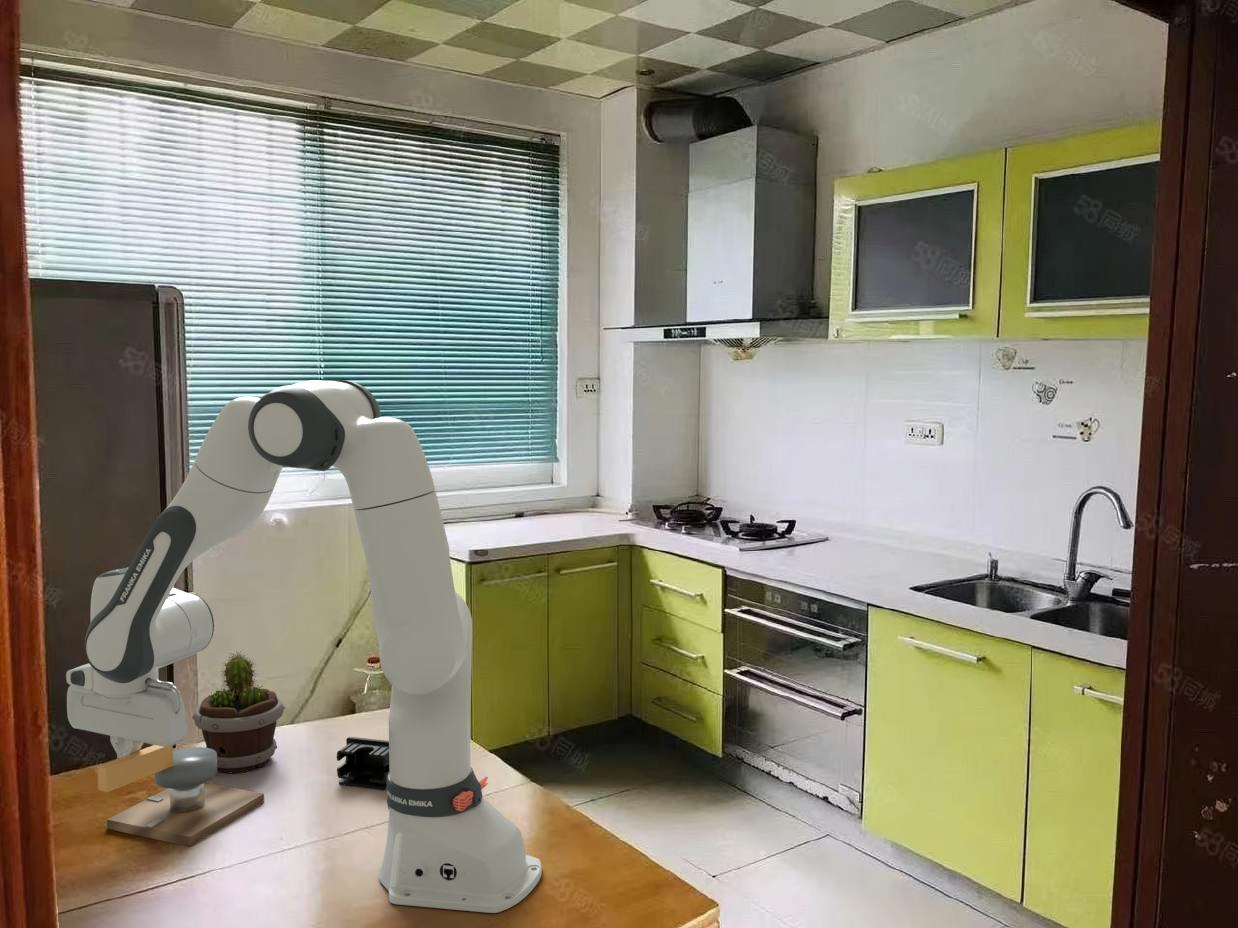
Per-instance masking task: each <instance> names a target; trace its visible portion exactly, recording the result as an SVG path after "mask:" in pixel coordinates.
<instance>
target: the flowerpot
mask: <svg viewBox="0 0 1238 928" xmlns="http://www.w3.org/2000/svg"><path fill="white" fill-rule="evenodd" d="M243 650H244V649H243ZM243 650H242V651H243ZM247 655H248V654H245V653H242V654H241V652H238V651H237V653H236V654H235V653H233V652H230V654H229V656H228V661H227V662H223V667H224V669H223V668H221V669H222V671H221V670H220V672H221V673H222V674H221V676H222V680H221V683H223V685H222V684H221V685H218V687H219V688H220V690H219V689H218V688H216V690H215V692H213V690H211V691H210V694H209V695H208V696H207V697H205V698H204V699H203V700H202V701H201V703H200V705H199V706H198V707H196V709H195V711H194V714H193V715H192V717H191V718H192V719H193V721H194V725H195V727H197V728H198V729H200V730H201V733H202V736H203V740H204V743H205V746H206V747H205V748H210V749H213V750H215V751H216V752H217V771H218V772H219V773H223V774H236V773H237V774H238V773H239V772H243V773H245V772H249V771H251V770H252V769H254V768H255V767H259V768H261V767H263V766H265V765H266V764H268V763H269V761H270V760H271V758H272V757H273V756H274V754H275V751H276V750H277V748H278V746H277V741H276V739H275V738H274V736H275V733H276V727H277V722H278V720H280V718H281V717H282V716H283V714H284V710H285V709H286V706H284V704H283V701H282V699H280V698H279V697H278V696H277V693H276V692H275V691H273V690H270V689H267V688H263V685H261V686H260V685H259V684H257V683H255V682H256V678H257V677H256V676H257V675H259V674H257V673H256V666H255V663H254V660H252V659H250V658H249V657H247V658H246V656H247ZM253 667H254V668H253ZM222 686H224V687H227V688H222ZM218 772H217V773H218Z"/></svg>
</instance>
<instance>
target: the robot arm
mask: <svg viewBox="0 0 1238 928" xmlns="http://www.w3.org/2000/svg"><path fill="white" fill-rule="evenodd" d="M380 409H381V408H380V405H379V403H378V401H377V399H376V398H375V396H374V395H373V394H372V392H370V391H369V389H367V388H366V387H364V386H363V385H361V384H359V383H356V382H354V381H350V380H345V379H335V380H334V379H333V380H316V379H313V380H307V381H302V382H298V383H295V384H291V385H290V384H289V385H282V386H279V387H276V388H275V389H273V390H271V391H269V392H266V394H264V395H263V396H262V397H260V398H259V397H254V396H241V397H237V398H234V399H232V400H230V401H229V402H227V403H226V404H225V405H224V406H223V407H222V408H221V410H220V412H219V413H218V415H217V416H216V418H215V420H214V421H213V422H212V424H211V426H210V428H209V429H208V431H207V433H206V435H205V437H204V439H203V441H202V443H201V445H200V447H199V448H198V449H199V450H198V452H197V453H196V456H195V459H194V461H193V464H192V465H191V467H190V470H189V472H188V474H187V476H186V478H185V479H184V482H182V485H180V488H179V489H178V491H177V493H176V494H175V496H173V497H174V498H173V499H172V500H171V501H170V503H169V504H168V505H167V507H166V508H165V509H163V511H162V512H161V513H160V514H159V516H158V517H157V519H156V520H155V521H154V523H153V524H152V525H151V526H150V528H149V529H148V532H146V533H147V534H146V535H145V536H144V539H143V540H142V542H141V544H140V546H139V547H138V549H137V551H136V553H135V555H134V556H133V558H132V560H131V563H130V564H129V565H128V566H127V567H123V568H118V569H113V570H110V571H105V572H103V573H101V574H100V575H98V576H97V577H96V579H94V582H93V586H92V591H91V596H90V597H91V598H90V623H89V625H88V628H87V630H86V633H85V638H84V653H85V658H86V660H87V662H88V663H86V664H82V665H80V666H77V667H74V668H72V669H69V670H68V671H67V670H66V674H65V678H66V679H65V680H66V683H67V684H68V685H70V686H68V688H67V690H66V691H67V692H66V713H67V720H68V722H69V724H70V725H71V727H72V728H73V729H78V730H82V731H87V732H93V733H96V734H101V735H106V736H109V737H110V743H111V745H112V748H113V749H114V752H115V753H116V756H117V758H116V759H118V758H121V757H123V756H126V755H129V754H132V753H134V752H137V751H139V750H142V747H143V745H144V744H149V745H152V746H153V745H158V746H162V747H170V746H172V745H173V746H174V745H177V744H179V743H181V742H183V741H184V739H186V737H187V735H188V726H187V715H186V710H185V709H186V708H185V704H184V700H183V698H182V697H183V696H182V693H181V691H180V690H179V689H178V688H177V687H176V686H175V684H174V683H173V682H170V681H163V680H160V679H159V669H161V668H164V667H167V666H168V665H171V664H174V663H176V662H178V661H181V660H183V659H186V658H188V657H191V656H194V655H196V654H198V653H199V652H202V651H204V650H205V649H206V648H207V647H208V646H209V644H210V643H211V641H212V639H213V635H214V631H215V620H214V615H213V612H212V609H211V608H210V605H209V604H208V602H207V601H205V600H204V598H202V597H201V596H199V595H198V594H196V593H193V592H190V591H189V592H187V591H184V590H181V589H178V588H176V587H174V586H175V584H176V582H177V581H178V579H179V577H180V576H181V574H182V573H183V572H184V571H185V569H186V568H187V567H188V566H189V565H190V564H191V563H192V562H194V561H195V560H197V558H198V557H200V556H201V555H203V554H205V553H206V552H208V551H209V550H211V549H213V548H215V547H216V546H219V545H221V544H222V543H224V542H226V541H229V540H230V539H232V538H234V537H236V536H238V535H240V534H242V533H244V532H246V531H247V530H248V529H250V528H251V527H252V526H253V525H254V524H255V523H256V521H257V520H258V519H259V517H260V516H261V515H262V513H263V512H264V510H265V508H266V507H267V505H268V503H269V502H270V498H271V497H272V494H273V492H274V489H275V487H276V484H277V481H278V479H279V477H280V474H281V472H282V470H283V468H284V467H287V468H292V469H293V468H294V469H304V470H313V471H318V472H320V471H321V472H326V471H328V470H329V469H330V468H331V467H333V468H334V469H336V470H338V471H339V472H340V474H342V476H343V478H345V479H344V480H345V481H346V485H347V486H348V487H347V488H348V490H349V494H350V499H351V502H352V507H353V512H354V515H355V520H356V523H357V528H358V532H359V537H360V541H361V543H362V548H363V552H364V557H365V561H366V564H367V565H366V567H367V572H368V580H369V587H370V588H369V589H370V595H371V596H370V597H371V604H372V612H373V613H372V614H373V620H374V626H375V632H376V638H377V642H378V643H377V644H378V649H379V659H380V660H379V661H380V665H381V667H380V668H381V670H382V673H383V674H384V676H385V678H386V679H387V681H388V682H389V683H390V684H391V694H390V704H389V705H390V706H389V715H388V741H389V770H390V772H389V773H388V775H387V787H386V790H385V791H386V803H387V808H388V823H387V835H386V843H385V847H384V848H385V849H384V854H383V859H382V862H381V866H380V869H379V873H378V878H379V881H380V883H381V884H382V885H383V886H384V888H385V889H386V890H387V891H388V900H389V903H391V904H394V905H398V906H399V905H402V906H403V905H404V906H411V907H412V906H413V907H422V908H433V909H434V908H435V909H446V910H456V911H468V912H477V913H488V914H489V913H491V914H497V913H501V912H502V911H505V910H508V909H510V908H512V907H513V906H515V905H517V904H518V903H520V902H521V901H523V899H525V898H526V897H527V896H528V895H529V894H530V893H531V892H532V891H533V890H534V888H535V887H536V886H537V885H538V883H539V881H540V880H541V877H542V874H543V868H542V862H541V860H540V859H539V858H538V857H534V856H531V855H529V854H527V853H526V848H525V842H524V837H523V835H522V832H521V829H520V828H519V827H518V826H517V825H516V824H515V823H514V822H513V821H511V820H510V819H509V818H508V817H507V816H506V815H504V814H503V813H502V812H500V811H499V809H497V808H496V807H495V806H494V805H492V803H490V802H489V801H488V800H487V799H486V798H485V797H484V794H483V792H482V790H483V789H484V788H485V787H486V786H487V785H488V783H489V782H487V781H488V779H489V777H488V776H485V777H484V778H482V779H481V780H480V781H479V780H478V779H477V775H476V774H475V771H474V769H473V768H472V766H471V701H472V700H471V698H472V695H471V694H472V667H473V666H472V665H473V663H472V659H473V657H472V656H473V619H472V613H471V611H470V609H469V607H468V605H467V602H466V601H465V600H464V598H462V596H461V595H460V594H458V592H456V588H455V584H454V577H453V570H452V564H451V555H450V547H449V546H450V545H449V542H448V537H447V534H446V529H445V526H444V525H445V524H444V521H443V516H442V512H441V508H440V504H439V499H438V494H437V492H436V487H435V483H434V479H433V476H432V473H431V469H430V467H429V464H428V461H427V458H426V456H425V452H424V450H423V448H422V445H421V443H420V441H419V438H418V437H417V434H416V432H415V430H414V429H413V428H412V426H411V424H409V423H407V422H406V421H404V420H402V419H399V418H394V417H388V416H386V417H385V416H384V417H381V410H380Z"/></svg>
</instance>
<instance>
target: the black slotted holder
mask: <svg viewBox="0 0 1238 928" xmlns="http://www.w3.org/2000/svg"><path fill="white" fill-rule="evenodd" d="M345 739H346V740H345V742H346V743H345V744H346V745H345V746H343V747H342V748H341V749H339V750H338V751H337V753H336V761H338V762H340V761H341V760H342V759H343V758H345V761H344V762H343V763H342V764H341V765H339V766H338V767H336V768H337V769H336V773H337V774H336V776H337V777H338V779H339V780H338V785H339V786H341V787H342V786H343V787H353V788H361V789H369V790H375V791H386V787H387V775H388V773H389V772H390V770H389V740H382V739H377V738H375V739H374V738H366V737H356V736H355V737H354V736H349V737H347V738H345Z"/></svg>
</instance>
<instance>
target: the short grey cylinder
mask: <svg viewBox="0 0 1238 928" xmlns="http://www.w3.org/2000/svg"><path fill="white" fill-rule="evenodd" d="M169 790H170V810H171V811H172V812H175V813H188V812H193V811H196V810H199V809H201V808H202V807H203V806H204V805H205V791H204V783H203V784H200V785H197V786H193V787H187V788H177V789H171V788H169Z"/></svg>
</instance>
